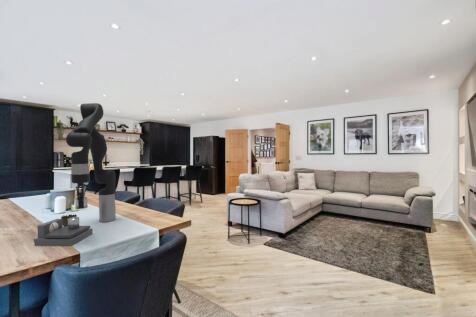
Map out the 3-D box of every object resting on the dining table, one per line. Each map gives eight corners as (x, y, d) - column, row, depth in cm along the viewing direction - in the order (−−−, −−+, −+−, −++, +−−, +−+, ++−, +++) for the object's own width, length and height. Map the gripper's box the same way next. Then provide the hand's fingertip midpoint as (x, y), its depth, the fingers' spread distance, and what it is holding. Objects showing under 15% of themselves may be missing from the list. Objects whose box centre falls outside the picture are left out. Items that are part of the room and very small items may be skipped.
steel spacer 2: (76, 207, 120) (75, 197, 119) (87, 206, 122) (87, 196, 122) (75, 209, 115) (74, 199, 115) (87, 208, 118) (87, 198, 118)
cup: (63, 228, 140) (63, 214, 140) (78, 226, 143) (78, 213, 143) (59, 232, 133) (59, 217, 133) (74, 230, 136) (74, 216, 136)
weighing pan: (66, 227, 129) (66, 225, 129) (90, 227, 129) (90, 225, 129) (43, 237, 114) (43, 235, 114) (69, 237, 114) (69, 235, 114)
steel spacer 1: (65, 229, 123) (65, 219, 123) (71, 226, 128) (71, 216, 128) (75, 229, 123) (75, 219, 123) (81, 226, 128) (81, 216, 128)
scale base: (60, 234, 130) (59, 217, 130) (92, 234, 130) (92, 217, 129) (34, 245, 114) (33, 227, 114) (71, 245, 114) (70, 227, 113)
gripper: (72, 172, 122) (73, 205, 123) (69, 174, 110) (70, 211, 111) (89, 171, 126) (90, 203, 127) (88, 173, 114) (89, 209, 114)
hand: (81, 206), depth 119 cm, fingers closed on steel spacer 2, 5 cm apart
